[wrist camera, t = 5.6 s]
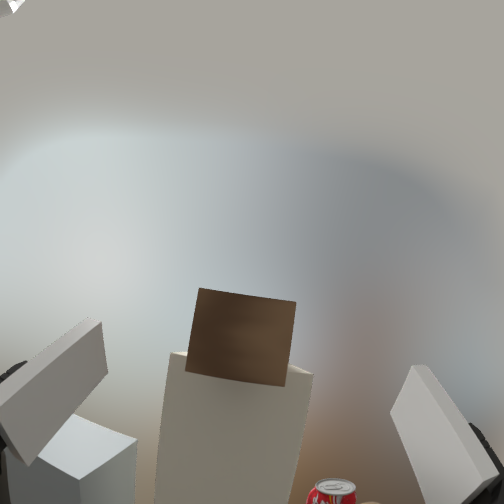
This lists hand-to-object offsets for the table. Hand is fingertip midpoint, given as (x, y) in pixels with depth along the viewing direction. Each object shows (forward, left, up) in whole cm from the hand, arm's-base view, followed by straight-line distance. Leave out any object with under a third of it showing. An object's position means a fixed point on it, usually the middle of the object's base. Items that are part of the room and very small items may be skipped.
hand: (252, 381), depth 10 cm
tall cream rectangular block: (-1, +16, -30) cm, 34 cm away
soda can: (+14, +25, -30) cm, 42 cm away
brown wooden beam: (-1, +11, 0) cm, 11 cm away
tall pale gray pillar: (-15, +10, -30) cm, 35 cm away
